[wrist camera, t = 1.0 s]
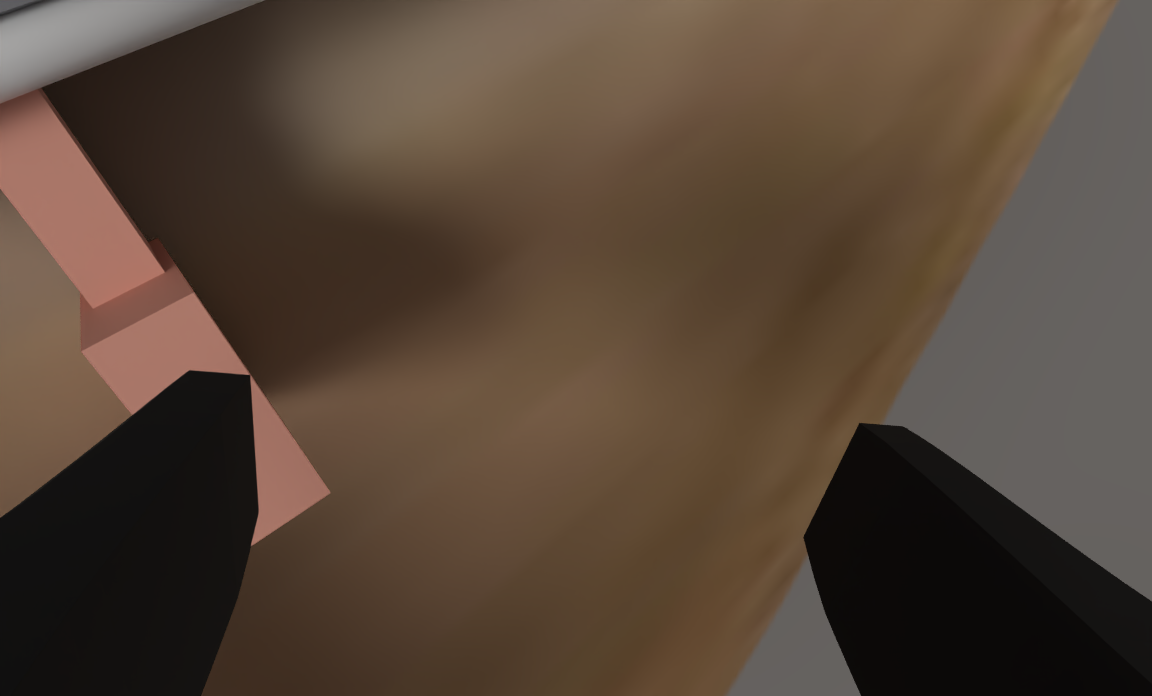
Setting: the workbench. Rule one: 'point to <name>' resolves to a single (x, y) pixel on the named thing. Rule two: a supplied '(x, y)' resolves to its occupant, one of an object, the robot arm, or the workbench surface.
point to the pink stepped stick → (134, 294)
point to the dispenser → (88, 34)
